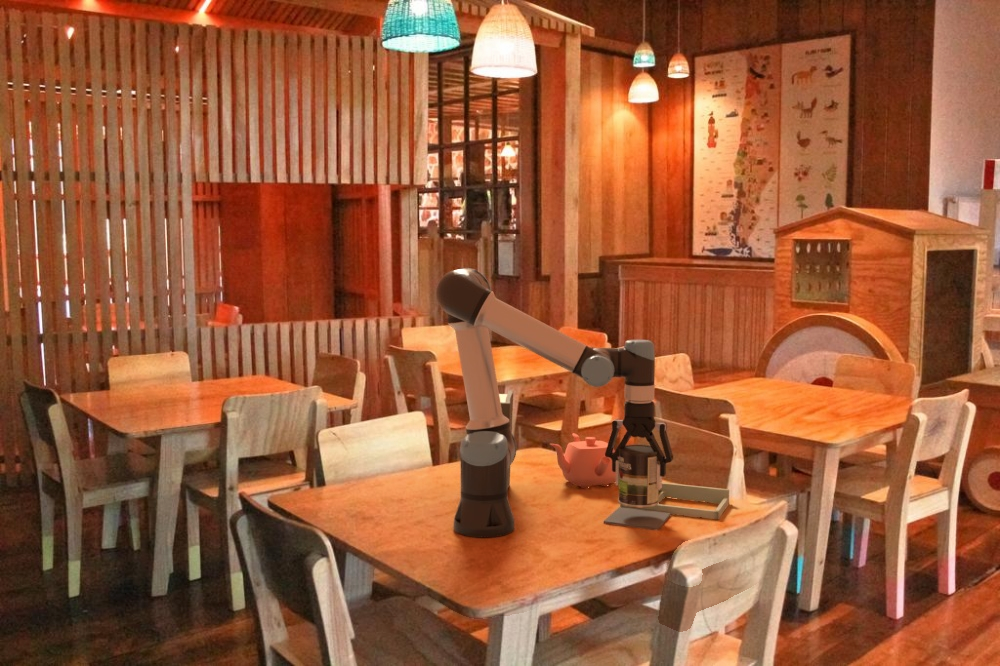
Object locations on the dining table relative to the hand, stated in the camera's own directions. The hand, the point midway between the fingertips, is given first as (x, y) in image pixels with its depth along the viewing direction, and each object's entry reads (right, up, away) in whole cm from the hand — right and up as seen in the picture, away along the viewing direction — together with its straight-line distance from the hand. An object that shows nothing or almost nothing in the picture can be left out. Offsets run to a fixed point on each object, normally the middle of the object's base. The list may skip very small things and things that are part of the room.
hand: (638, 486), depth 245 cm
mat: (0, -9, +1) cm, 9 cm away
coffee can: (0, -4, 0) cm, 4 cm away
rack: (+12, -7, +13) cm, 19 cm away
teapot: (-10, -5, +36) cm, 38 cm away
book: (-38, -6, +24) cm, 45 cm away
